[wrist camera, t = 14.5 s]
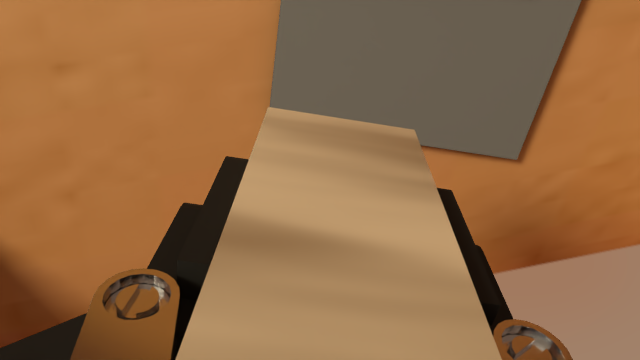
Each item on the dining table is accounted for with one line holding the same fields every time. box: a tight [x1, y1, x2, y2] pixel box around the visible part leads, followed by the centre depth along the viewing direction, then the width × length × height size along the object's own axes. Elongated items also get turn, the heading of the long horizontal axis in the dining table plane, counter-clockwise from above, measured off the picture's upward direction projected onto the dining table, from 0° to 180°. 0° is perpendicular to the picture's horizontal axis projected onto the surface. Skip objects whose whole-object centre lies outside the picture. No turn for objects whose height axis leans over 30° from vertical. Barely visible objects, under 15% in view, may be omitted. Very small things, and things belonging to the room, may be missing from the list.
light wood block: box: [176, 107, 502, 360], centre depth 9 cm, size 4×4×11 cm
